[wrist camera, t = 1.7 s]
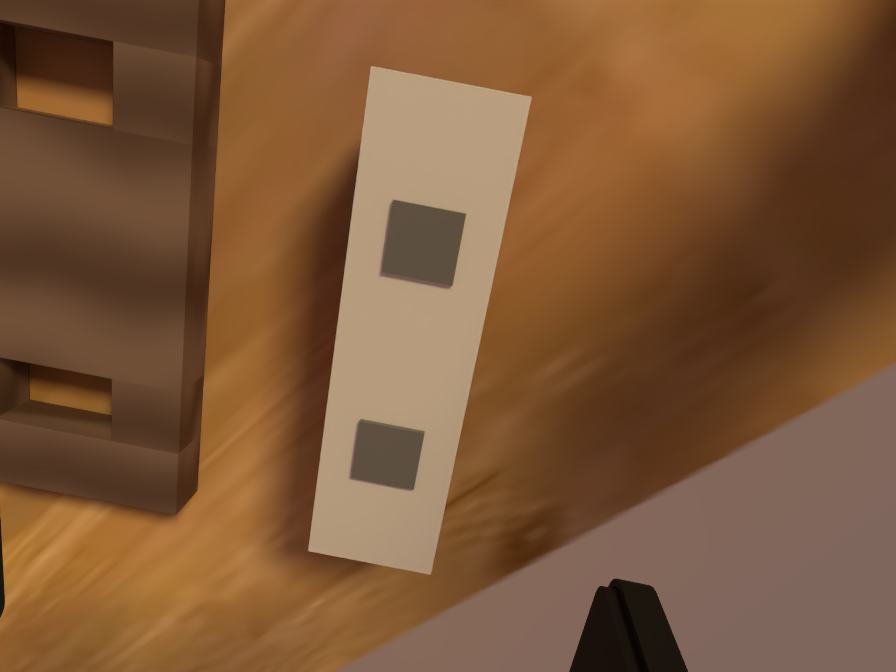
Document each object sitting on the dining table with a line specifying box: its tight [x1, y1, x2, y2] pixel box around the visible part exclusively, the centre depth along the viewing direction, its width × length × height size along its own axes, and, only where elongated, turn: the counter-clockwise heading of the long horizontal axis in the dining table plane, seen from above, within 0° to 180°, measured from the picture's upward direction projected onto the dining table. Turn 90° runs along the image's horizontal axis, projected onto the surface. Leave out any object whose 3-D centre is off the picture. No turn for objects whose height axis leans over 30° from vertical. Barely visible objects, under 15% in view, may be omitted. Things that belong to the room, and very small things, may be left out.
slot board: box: [0, 0, 225, 515], centre depth 25 cm, size 24×12×2 cm, turn 169°
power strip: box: [308, 66, 532, 575], centre depth 23 cm, size 5×18×7 cm, turn 169°
